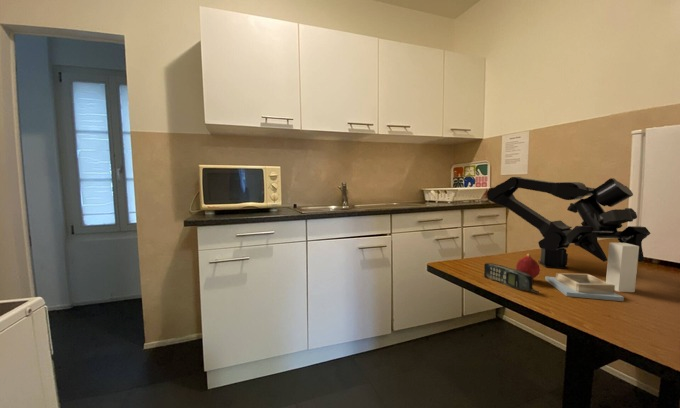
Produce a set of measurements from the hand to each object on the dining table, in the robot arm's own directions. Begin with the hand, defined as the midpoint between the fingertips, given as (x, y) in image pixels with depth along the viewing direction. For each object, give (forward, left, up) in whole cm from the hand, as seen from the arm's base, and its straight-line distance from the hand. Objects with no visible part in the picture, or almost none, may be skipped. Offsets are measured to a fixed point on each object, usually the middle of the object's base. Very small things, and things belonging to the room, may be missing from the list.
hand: (623, 261), depth 75 cm
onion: (-22, +1, -8) cm, 24 cm away
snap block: (0, 0, -8) cm, 8 cm away
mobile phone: (-28, -4, -8) cm, 30 cm away
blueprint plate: (-11, -3, -8) cm, 14 cm away
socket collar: (-10, -3, -8) cm, 13 cm away
